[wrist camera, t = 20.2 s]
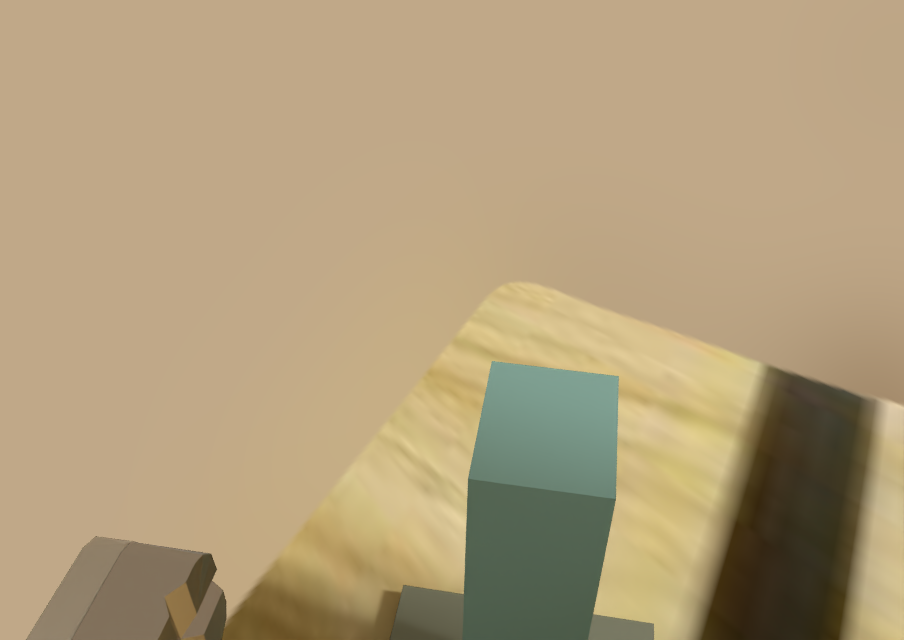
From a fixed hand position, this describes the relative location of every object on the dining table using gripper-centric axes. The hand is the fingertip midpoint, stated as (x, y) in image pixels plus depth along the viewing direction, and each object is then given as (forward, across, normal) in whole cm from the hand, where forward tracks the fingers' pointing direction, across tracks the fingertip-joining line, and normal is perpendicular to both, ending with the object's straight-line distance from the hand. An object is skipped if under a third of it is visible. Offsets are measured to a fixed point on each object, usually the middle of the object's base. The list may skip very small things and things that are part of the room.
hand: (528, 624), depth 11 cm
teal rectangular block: (+12, 0, +26) cm, 29 cm away
